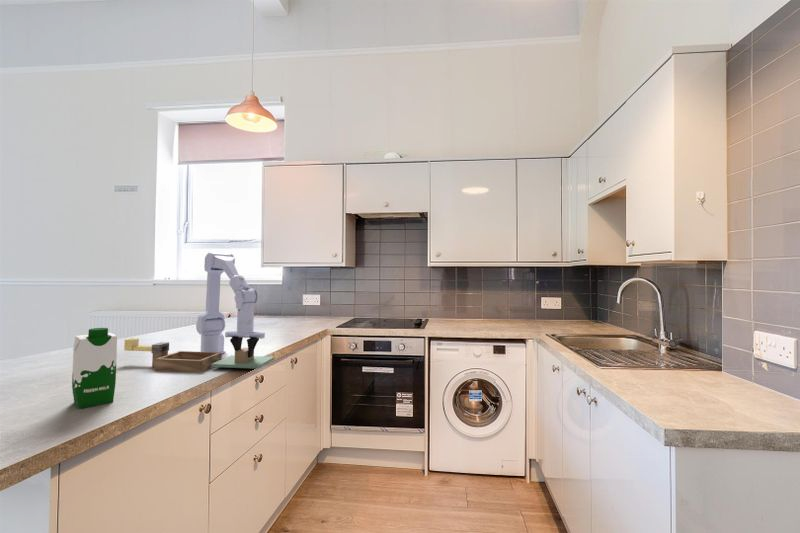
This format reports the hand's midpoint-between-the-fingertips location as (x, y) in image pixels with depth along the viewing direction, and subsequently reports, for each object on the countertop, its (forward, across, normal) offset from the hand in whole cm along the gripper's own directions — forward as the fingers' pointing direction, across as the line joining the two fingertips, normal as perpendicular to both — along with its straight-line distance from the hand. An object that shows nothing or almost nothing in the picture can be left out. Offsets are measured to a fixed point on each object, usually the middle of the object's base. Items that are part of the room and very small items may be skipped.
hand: (244, 356), depth 135 cm
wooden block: (-2, -38, -3) cm, 38 cm away
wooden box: (+4, -22, -3) cm, 22 cm away
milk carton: (+4, -22, -40) cm, 46 cm away
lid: (+2, 0, 0) cm, 2 cm away
